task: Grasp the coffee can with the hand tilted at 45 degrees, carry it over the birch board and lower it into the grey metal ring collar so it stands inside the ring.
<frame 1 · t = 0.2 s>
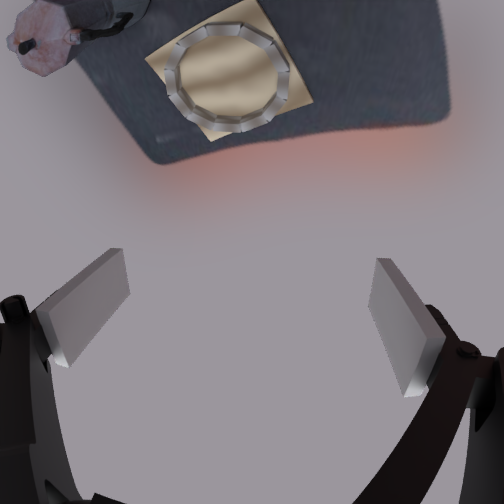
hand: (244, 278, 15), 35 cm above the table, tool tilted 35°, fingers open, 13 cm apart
ring board: (229, 72, 39), on the table
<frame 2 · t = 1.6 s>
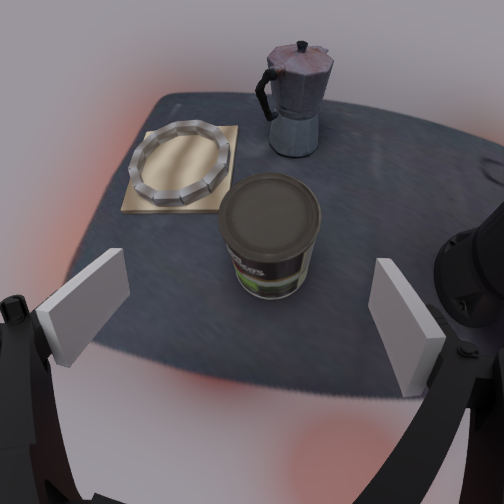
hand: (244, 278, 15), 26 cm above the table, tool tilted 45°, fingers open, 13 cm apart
coffee can: (272, 265, 44), on the table
moka pot: (293, 142, 52), on the table
ring board: (182, 168, 52), on the table
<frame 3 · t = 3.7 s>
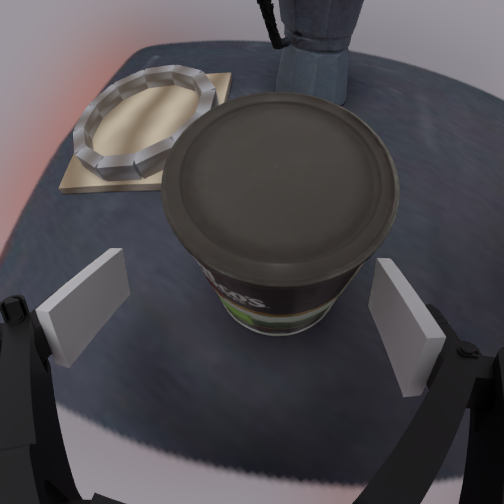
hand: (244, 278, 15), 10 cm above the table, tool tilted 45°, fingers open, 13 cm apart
coffee can: (279, 275, 26), on the table
moka pot: (310, 95, 34), on the table
ring board: (148, 129, 33), on the table
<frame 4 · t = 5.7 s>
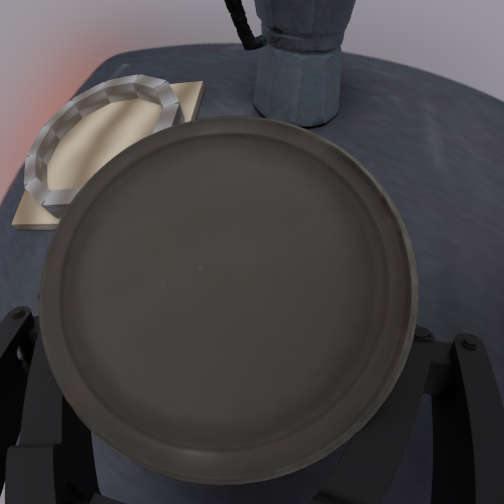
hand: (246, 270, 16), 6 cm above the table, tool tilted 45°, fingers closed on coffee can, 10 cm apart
coffee can: (250, 342, 20), on the table, touching gripper
moka pot: (295, 105, 29), on the table
ring board: (107, 152, 28), on the table
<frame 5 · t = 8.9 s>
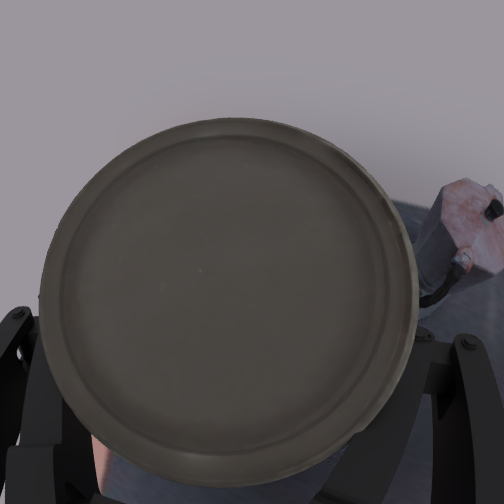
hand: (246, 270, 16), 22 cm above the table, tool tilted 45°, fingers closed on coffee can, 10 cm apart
coffee can: (250, 343, 20), point 16 cm above the table, touching gripper
moka pot: (406, 292, 36), on the table
when the fingers open (8 cm above the table, at t = 12.2 s): coffee can drops 1 cm, resting on ring board.
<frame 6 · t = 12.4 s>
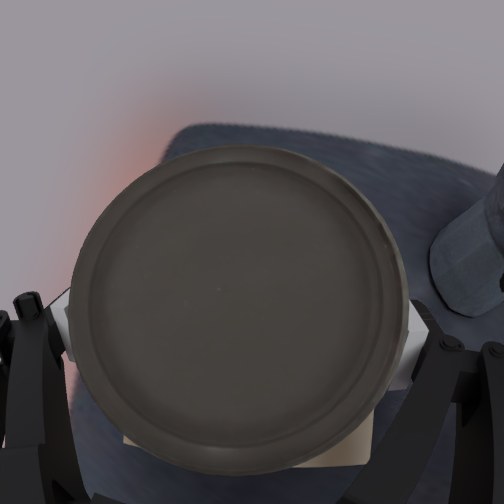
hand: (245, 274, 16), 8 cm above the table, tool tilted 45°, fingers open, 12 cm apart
coffee can: (255, 346, 21), point 1 cm above the table, touching ring board
moka pot: (465, 275, 23), on the table
ring board: (252, 345, 22), on the table
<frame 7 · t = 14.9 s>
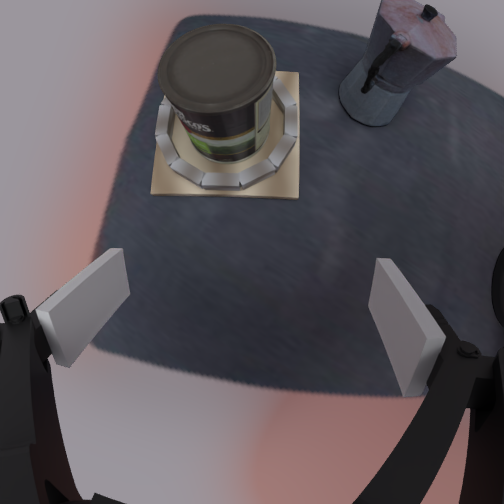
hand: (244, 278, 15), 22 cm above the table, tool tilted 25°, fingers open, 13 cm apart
coffee can: (229, 127, 37), point 1 cm above the table, touching ring board
moka pot: (367, 103, 38), on the table
ring board: (228, 129, 38), on the table
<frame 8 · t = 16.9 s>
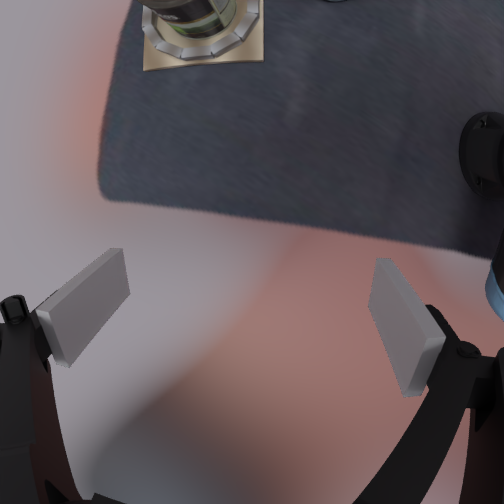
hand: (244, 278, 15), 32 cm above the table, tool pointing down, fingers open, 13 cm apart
coffee can: (203, 12, 35), point 1 cm above the table, touching ring board
ring board: (203, 13, 36), on the table
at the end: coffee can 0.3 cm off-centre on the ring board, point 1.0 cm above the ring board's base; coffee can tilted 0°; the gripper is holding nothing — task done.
